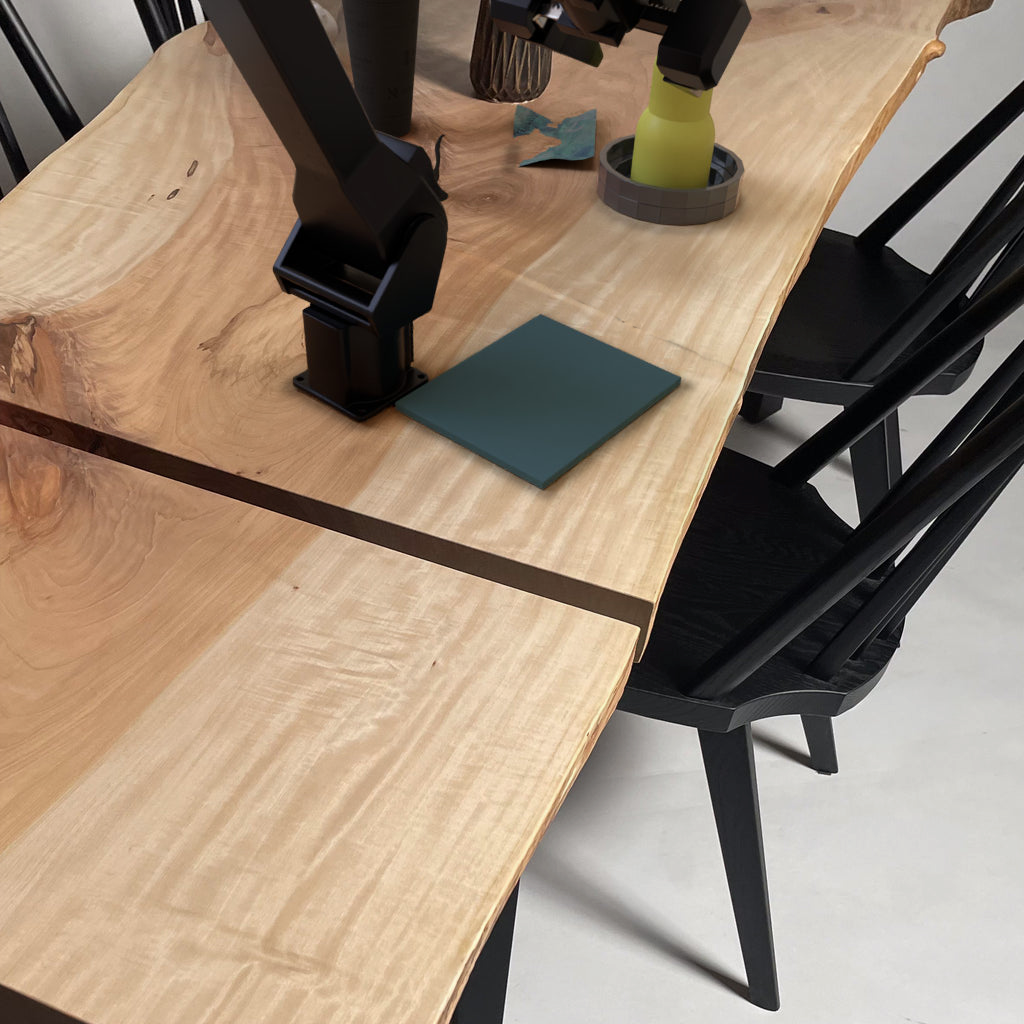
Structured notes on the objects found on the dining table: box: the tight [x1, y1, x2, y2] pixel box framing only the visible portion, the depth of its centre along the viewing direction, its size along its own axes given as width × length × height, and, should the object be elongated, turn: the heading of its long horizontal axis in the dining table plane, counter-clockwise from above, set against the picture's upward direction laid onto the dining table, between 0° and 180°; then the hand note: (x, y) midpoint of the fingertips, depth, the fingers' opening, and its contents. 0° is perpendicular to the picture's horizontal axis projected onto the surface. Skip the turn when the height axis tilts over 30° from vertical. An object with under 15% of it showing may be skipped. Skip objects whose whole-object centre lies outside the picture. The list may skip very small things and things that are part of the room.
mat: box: [394, 313, 682, 490], centre depth 72 cm, size 15×12×1 cm
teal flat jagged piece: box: [512, 104, 598, 168], centre depth 102 cm, size 13×8×2 cm, turn 176°
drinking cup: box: [341, 0, 421, 138], centre depth 98 cm, size 8×8×20 cm
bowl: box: [596, 133, 746, 226], centre depth 94 cm, size 12×12×4 cm
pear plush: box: [630, 55, 716, 189], centre depth 90 cm, size 7×7×14 cm
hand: (648, 76), depth 84 cm, fingers open, 9 cm apart
